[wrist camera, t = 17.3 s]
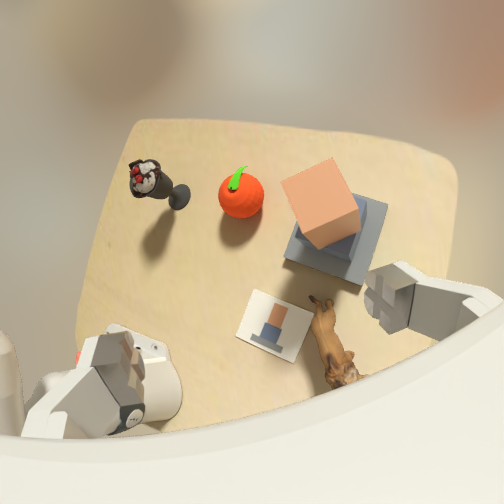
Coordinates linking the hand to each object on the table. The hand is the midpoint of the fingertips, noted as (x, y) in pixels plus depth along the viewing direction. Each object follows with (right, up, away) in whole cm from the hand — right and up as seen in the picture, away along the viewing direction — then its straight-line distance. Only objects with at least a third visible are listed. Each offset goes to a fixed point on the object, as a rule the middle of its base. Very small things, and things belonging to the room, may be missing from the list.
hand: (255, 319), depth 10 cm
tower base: (+12, +5, +33) cm, 35 cm away
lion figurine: (+12, -10, +30) cm, 34 cm away
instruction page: (+3, -9, +34) cm, 35 cm away
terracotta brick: (+9, +6, +26) cm, 28 cm away
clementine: (0, +11, +39) cm, 40 cm away
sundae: (-13, +12, +45) cm, 48 cm away
